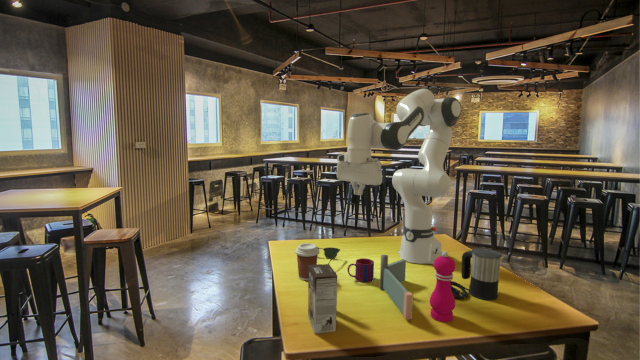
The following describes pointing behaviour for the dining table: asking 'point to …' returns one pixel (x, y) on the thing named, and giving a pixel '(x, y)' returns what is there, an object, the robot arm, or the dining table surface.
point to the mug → (363, 270)
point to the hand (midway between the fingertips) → (358, 194)
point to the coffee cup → (306, 258)
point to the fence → (392, 269)
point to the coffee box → (322, 298)
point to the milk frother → (480, 274)
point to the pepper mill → (443, 289)
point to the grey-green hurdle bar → (398, 294)
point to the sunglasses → (330, 252)
